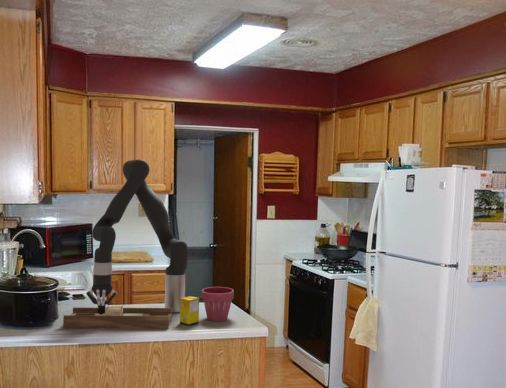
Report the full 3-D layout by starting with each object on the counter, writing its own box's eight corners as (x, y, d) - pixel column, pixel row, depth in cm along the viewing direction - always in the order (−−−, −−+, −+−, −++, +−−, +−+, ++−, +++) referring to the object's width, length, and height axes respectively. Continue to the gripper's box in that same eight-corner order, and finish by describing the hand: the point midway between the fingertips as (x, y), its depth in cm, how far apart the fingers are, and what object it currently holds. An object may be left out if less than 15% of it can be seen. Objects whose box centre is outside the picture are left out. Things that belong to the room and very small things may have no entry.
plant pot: (206, 323, 208) (206, 294, 208) (197, 315, 221) (198, 287, 221) (237, 321, 214) (238, 292, 214) (227, 313, 227) (227, 286, 227)
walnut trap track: (73, 318, 211) (73, 307, 211) (171, 319, 214) (171, 308, 214) (63, 328, 197) (63, 315, 197) (168, 328, 200) (168, 316, 200)
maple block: (108, 314, 208) (108, 305, 208) (122, 314, 208) (123, 305, 208) (105, 318, 202) (105, 308, 202) (119, 318, 202) (120, 309, 202)
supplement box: (189, 320, 213) (189, 295, 213) (199, 323, 209) (199, 297, 209) (179, 323, 208) (179, 297, 208) (188, 326, 205) (189, 300, 204)
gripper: (120, 271, 209) (119, 312, 209) (88, 271, 208) (87, 311, 208) (116, 274, 202) (115, 316, 202) (84, 274, 201) (82, 316, 201)
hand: (101, 313), depth 205 cm, fingers closed
